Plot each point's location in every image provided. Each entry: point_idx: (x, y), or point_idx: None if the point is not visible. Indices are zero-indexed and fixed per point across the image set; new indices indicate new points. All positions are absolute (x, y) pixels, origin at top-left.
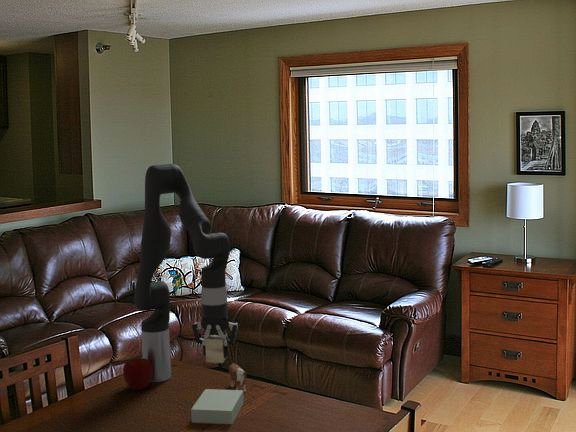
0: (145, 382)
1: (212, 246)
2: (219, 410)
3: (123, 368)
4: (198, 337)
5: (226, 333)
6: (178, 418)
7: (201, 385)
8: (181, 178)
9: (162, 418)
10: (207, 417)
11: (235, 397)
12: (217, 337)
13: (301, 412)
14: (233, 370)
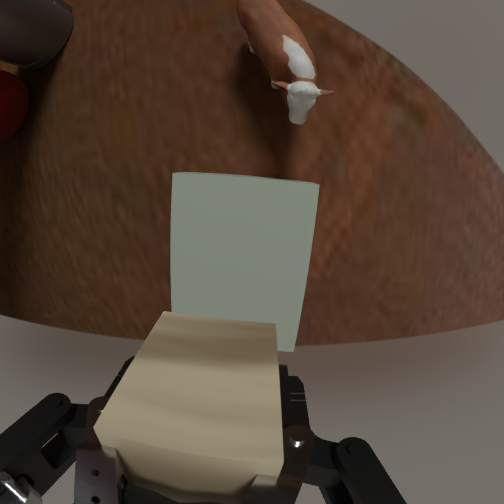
0: (16, 124)
1: None
2: None
3: None
4: (68, 464)
5: (295, 499)
6: (142, 294)
7: (152, 48)
8: None
9: (107, 292)
10: None
11: (297, 253)
12: (210, 495)
13: (452, 256)
14: (262, 40)
